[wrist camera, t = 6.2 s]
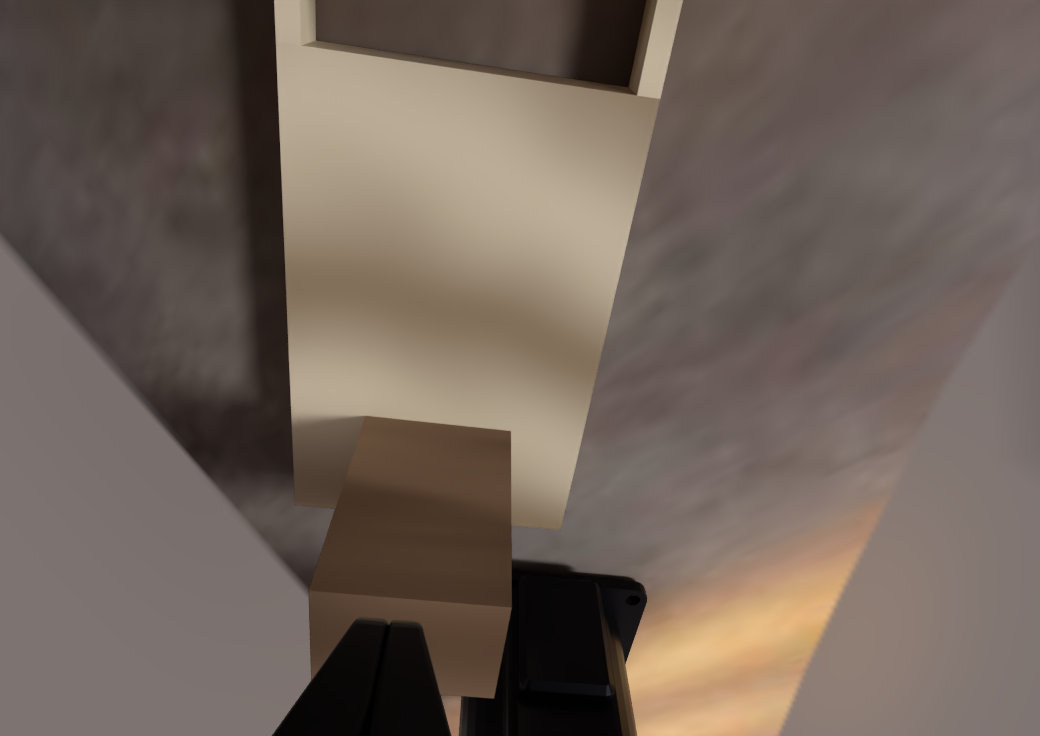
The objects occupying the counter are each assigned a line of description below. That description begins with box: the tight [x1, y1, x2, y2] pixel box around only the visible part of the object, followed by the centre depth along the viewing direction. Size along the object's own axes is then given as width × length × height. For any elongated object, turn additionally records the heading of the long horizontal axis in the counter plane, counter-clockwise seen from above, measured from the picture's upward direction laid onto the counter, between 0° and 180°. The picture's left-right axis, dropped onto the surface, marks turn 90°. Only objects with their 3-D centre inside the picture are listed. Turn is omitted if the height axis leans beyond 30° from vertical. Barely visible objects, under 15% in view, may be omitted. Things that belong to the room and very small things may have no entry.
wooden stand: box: [274, 0, 683, 698], centre depth 13 cm, size 21×8×7 cm, turn 172°
